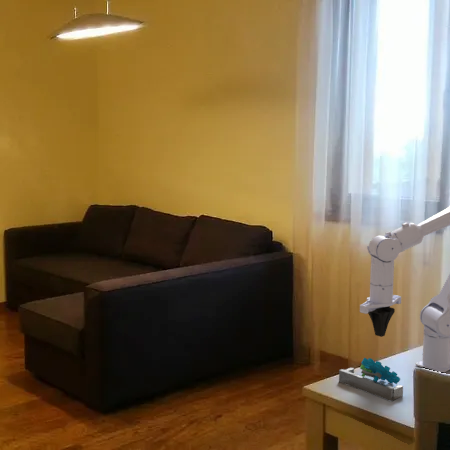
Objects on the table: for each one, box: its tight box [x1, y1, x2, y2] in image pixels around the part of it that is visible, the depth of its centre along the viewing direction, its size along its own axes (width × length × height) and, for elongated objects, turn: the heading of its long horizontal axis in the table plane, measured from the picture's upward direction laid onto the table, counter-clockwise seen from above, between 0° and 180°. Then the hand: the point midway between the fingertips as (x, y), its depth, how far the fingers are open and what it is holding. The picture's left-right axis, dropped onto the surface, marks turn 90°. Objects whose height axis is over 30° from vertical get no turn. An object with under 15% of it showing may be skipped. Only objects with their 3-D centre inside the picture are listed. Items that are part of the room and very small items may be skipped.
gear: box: [359, 357, 401, 385], centre depth 165 cm, size 11×6×10 cm
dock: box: [338, 367, 404, 402], centre depth 164 cm, size 4×16×3 cm, turn 40°
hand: (379, 335), depth 175 cm, fingers closed
